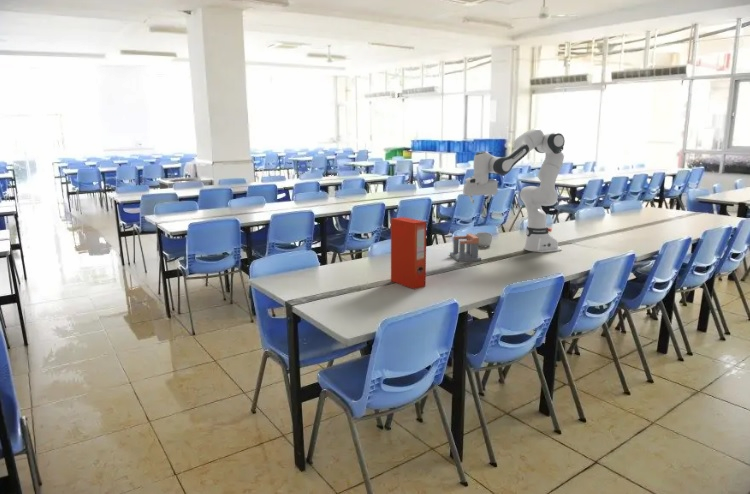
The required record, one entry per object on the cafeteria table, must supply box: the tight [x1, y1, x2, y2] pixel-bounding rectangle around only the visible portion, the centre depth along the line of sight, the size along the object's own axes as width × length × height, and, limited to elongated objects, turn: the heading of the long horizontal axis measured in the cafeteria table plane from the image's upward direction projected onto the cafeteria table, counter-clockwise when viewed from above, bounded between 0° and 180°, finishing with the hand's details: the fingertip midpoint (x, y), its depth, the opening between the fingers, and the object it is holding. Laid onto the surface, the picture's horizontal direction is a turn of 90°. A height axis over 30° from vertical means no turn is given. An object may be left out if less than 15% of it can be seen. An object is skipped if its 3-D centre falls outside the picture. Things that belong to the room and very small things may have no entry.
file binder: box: [390, 216, 427, 290], centre depth 255 cm, size 8×17×32 cm, turn 36°
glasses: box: [453, 232, 479, 245], centre depth 307 cm, size 11×14×3 cm
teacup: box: [474, 231, 493, 247], centre depth 339 cm, size 14×11×8 cm
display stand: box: [449, 239, 482, 262], centre depth 308 cm, size 14×17×11 cm
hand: (480, 202), depth 313 cm, fingers open, 8 cm apart
